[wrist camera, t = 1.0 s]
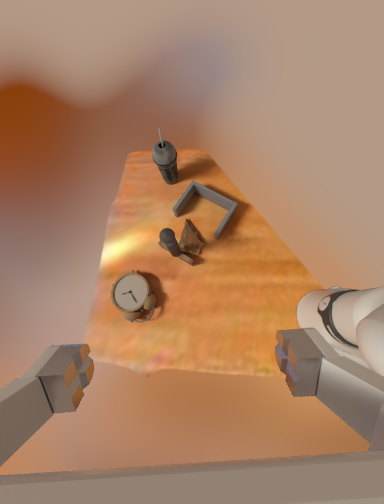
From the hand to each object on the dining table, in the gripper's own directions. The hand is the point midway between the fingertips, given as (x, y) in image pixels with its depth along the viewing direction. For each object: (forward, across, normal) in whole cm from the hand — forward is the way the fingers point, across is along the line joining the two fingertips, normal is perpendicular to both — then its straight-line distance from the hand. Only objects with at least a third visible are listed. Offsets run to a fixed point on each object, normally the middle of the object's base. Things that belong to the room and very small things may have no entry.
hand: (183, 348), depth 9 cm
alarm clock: (+48, -17, -25) cm, 57 cm away
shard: (+57, -1, -10) cm, 58 cm away
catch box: (+61, +6, -3) cm, 62 cm away
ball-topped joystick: (+54, -4, -14) cm, 56 cm away
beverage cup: (+70, -5, +9) cm, 71 cm away
